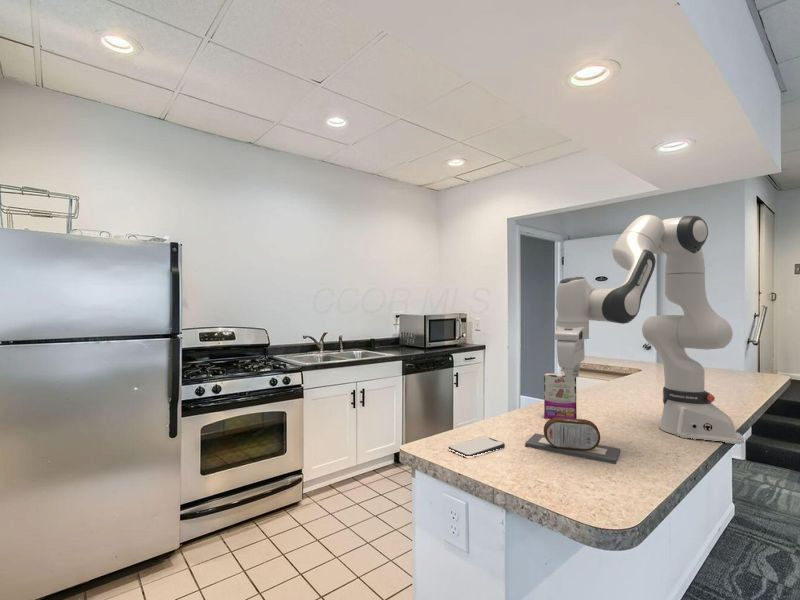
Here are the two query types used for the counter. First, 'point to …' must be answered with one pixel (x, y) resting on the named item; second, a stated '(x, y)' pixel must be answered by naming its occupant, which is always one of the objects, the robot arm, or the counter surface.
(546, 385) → the candy bar box
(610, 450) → the dark gray picture frame
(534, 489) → the counter surface
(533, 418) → the counter surface
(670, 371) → the robot arm
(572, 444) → the tin
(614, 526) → the counter surface
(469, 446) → the phone case
